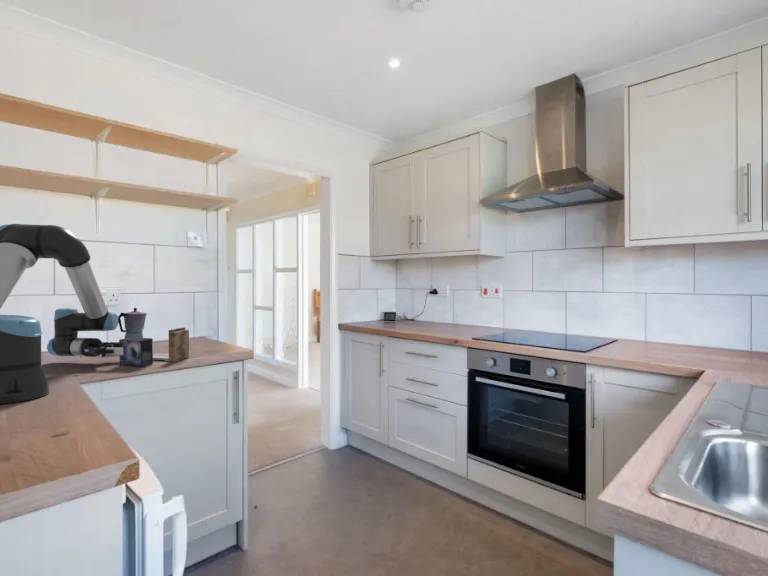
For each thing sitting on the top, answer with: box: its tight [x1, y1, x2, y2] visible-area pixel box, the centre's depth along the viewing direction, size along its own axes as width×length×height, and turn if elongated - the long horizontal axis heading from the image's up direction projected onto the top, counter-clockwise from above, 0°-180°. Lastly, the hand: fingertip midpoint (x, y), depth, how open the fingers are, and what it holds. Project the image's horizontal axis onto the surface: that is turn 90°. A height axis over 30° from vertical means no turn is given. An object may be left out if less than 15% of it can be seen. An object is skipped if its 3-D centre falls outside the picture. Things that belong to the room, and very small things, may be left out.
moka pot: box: [117, 307, 148, 339], centre depth 201 cm, size 10×15×20 cm, turn 164°
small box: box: [118, 337, 154, 368], centre depth 163 cm, size 11×6×10 cm, turn 76°
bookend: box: [153, 326, 190, 363], centre depth 176 cm, size 10×16×13 cm, turn 82°
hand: (135, 348), depth 164 cm, fingers open, 13 cm apart
